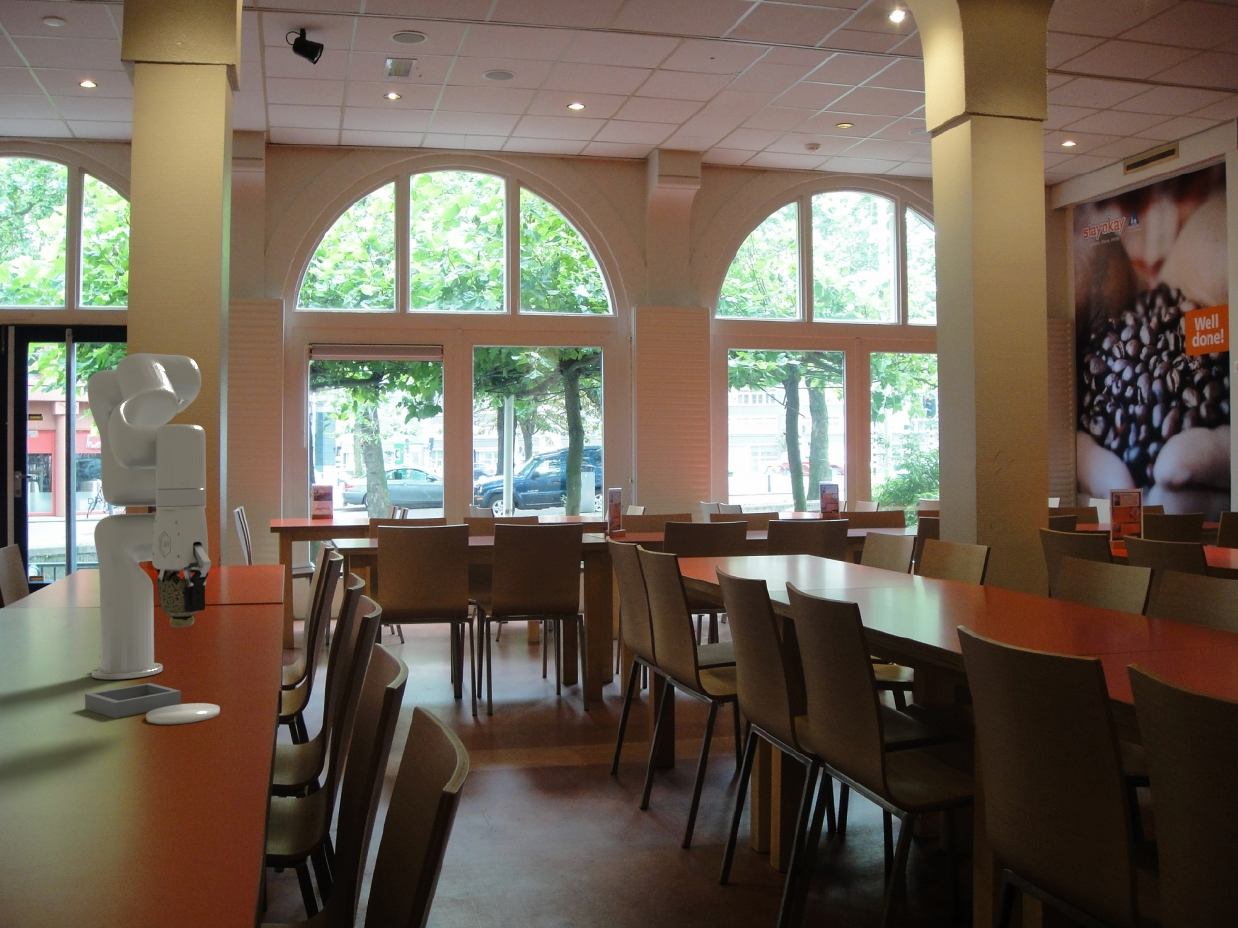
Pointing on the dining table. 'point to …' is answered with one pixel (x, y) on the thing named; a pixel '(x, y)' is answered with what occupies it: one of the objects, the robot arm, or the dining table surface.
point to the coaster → (183, 713)
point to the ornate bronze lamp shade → (174, 601)
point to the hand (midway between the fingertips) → (182, 608)
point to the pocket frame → (132, 700)
